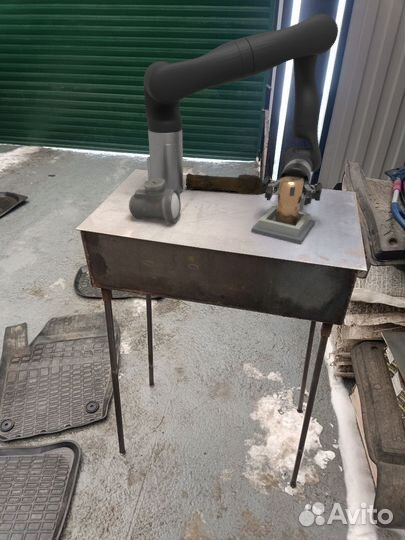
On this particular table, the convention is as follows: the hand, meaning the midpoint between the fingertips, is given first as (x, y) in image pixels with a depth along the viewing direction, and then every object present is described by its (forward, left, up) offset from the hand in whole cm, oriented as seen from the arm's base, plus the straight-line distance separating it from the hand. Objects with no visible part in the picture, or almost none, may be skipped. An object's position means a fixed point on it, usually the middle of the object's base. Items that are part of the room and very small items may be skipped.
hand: (287, 199), depth 87 cm
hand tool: (-24, +17, -8) cm, 30 cm away
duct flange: (0, +1, -8) cm, 8 cm away
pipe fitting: (-30, -10, -8) cm, 33 cm away
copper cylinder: (0, +1, -7) cm, 7 cm away
